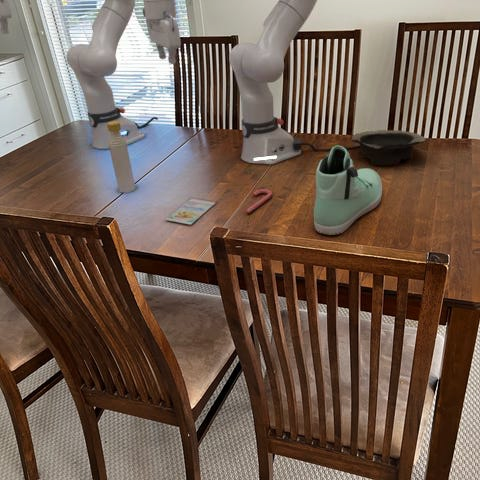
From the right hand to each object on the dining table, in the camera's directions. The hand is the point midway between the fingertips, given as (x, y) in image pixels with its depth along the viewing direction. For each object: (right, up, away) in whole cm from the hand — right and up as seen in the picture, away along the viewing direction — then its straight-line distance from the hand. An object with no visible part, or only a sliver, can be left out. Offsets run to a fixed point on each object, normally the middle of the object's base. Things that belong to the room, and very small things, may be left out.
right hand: (167, 61), depth 146 cm
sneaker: (+54, -45, -7) cm, 70 cm away
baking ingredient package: (+7, -46, -2) cm, 47 cm away
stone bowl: (+74, -25, +24) cm, 81 cm away
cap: (-18, -18, +4) cm, 25 cm away
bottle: (-16, -37, +16) cm, 43 cm away
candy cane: (+27, -43, 0) cm, 51 cm away
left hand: (-58, +15, +14) cm, 61 cm away
